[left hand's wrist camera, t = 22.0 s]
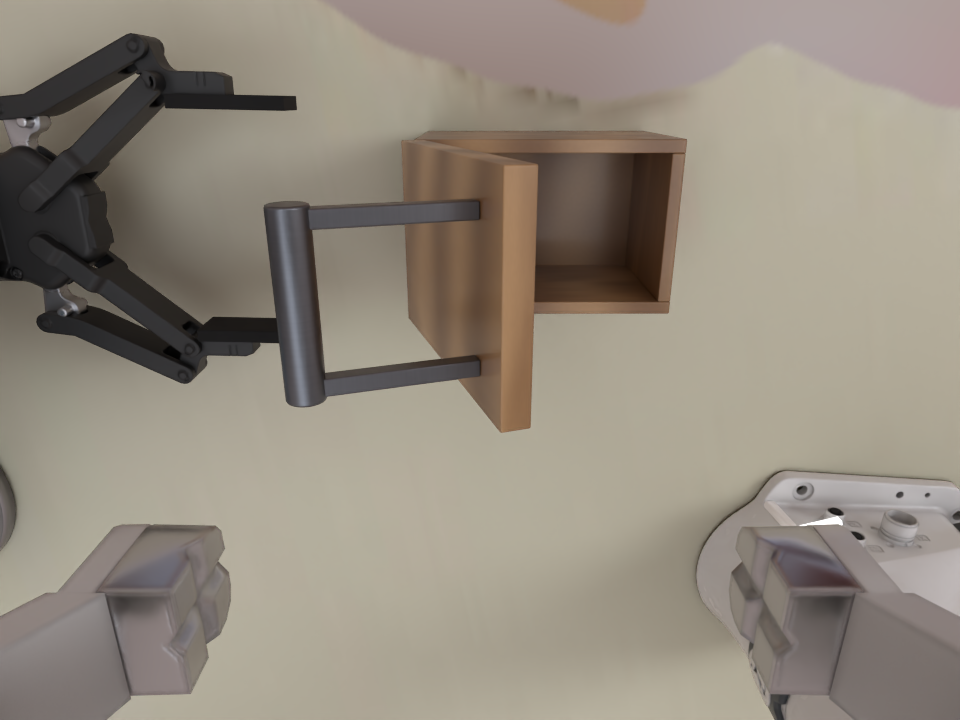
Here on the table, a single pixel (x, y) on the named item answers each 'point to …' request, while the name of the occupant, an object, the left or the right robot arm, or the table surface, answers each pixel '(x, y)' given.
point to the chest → (596, 214)
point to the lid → (427, 280)
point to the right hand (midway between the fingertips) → (300, 224)
